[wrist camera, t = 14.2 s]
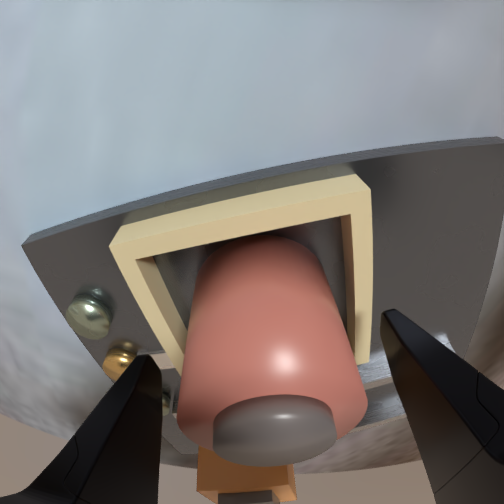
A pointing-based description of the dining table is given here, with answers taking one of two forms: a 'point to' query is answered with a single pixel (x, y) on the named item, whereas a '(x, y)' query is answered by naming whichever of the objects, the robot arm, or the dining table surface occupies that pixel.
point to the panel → (318, 242)
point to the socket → (245, 223)
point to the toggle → (243, 481)
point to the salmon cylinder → (267, 357)
